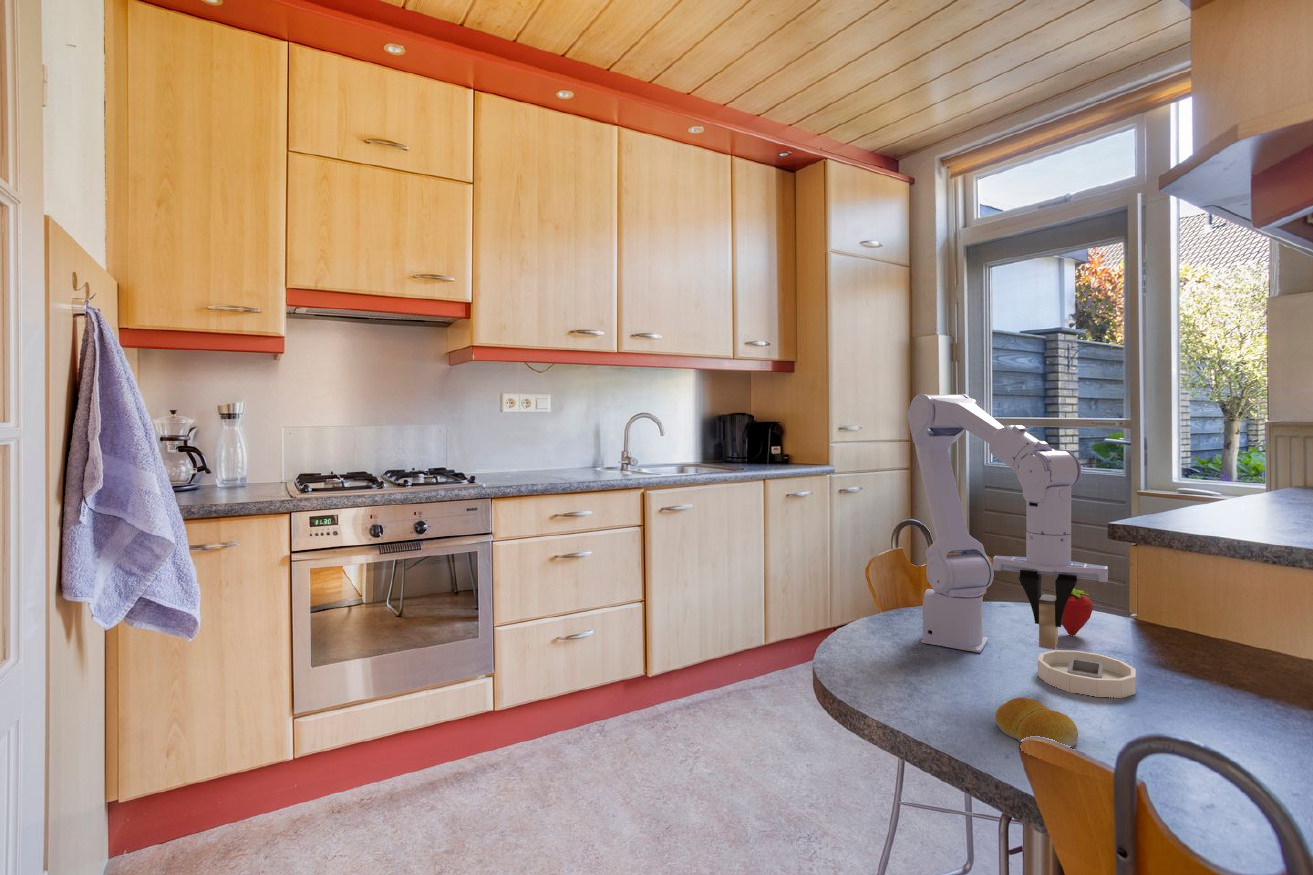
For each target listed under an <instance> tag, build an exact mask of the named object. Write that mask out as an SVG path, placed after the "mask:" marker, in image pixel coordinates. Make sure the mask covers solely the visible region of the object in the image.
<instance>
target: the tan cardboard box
mask: <svg viewBox="0 0 1313 875" xmlns="http://www.w3.org/2000/svg"><path fill="white" fill-rule="evenodd" d="M1055 614H1056V595H1052V594H1042V593H1041V597H1040V599H1039V624H1038V648H1042V649H1048V650H1056V648H1057V645H1058V643H1059V627H1055Z"/></svg>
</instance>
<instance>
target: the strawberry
mask: <svg viewBox="0 0 1313 875" xmlns="http://www.w3.org/2000/svg"><path fill="white" fill-rule="evenodd" d="M1077 583H1078V581H1077ZM1088 596H1089V597H1091V595H1090V594H1088V593H1087V592H1086V591H1085V590H1079V589H1076V588H1075V587H1074V589H1073V591H1072V593H1071V594H1070V596H1069V599H1068V601H1067V603H1066V606H1065V610H1064V613H1063V619H1062V625H1061V627H1063V628H1064V630H1065V631H1066V633H1067V634H1068V635H1069V636H1071V635H1072V636H1071V637H1073V635H1074V636H1076V635H1077V634H1078V632H1079V631H1080V630H1081V629H1082V628H1083V627H1084V626H1085V625H1086V624H1087V622H1088V621H1089V620H1090V618H1091V616H1092V613H1093V609H1094V607H1093V601H1092V600H1091V599H1090V598H1089V597H1088Z"/></svg>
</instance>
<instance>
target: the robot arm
mask: <svg viewBox="0 0 1313 875" xmlns="http://www.w3.org/2000/svg"><path fill="white" fill-rule="evenodd" d="M906 417H907V421H908V425H909V429H910V435H911V439H912V442H913V444H914V448H915V453H916V457H917V461H918V466H919V469H920V470H919V471H920V474H921V478H922V482H923V487H924V491H925V495H926V499H927V504H928V510H929V512H930V516H931V521H932V525H933V529H934V534H935V540H934V541H933V543H932V544H931V545H930V546H929V547H927V549H926V551H925V557H926V569H925V570H926V572H925V573H926V577H927V581H928V583H929V585H930V587H931V588H927V589H925V592H924V595H923V600H922V639H921V643H922V644H929V645H934V646H939V647H943V648H944V647H945V648H951V649H957V650H962V651H968V652H974V653H981V652H982V651H983V649H984V648H985V646H986V645H987V643H988V642H989V637H987V636H984V635H983V623H984V622H983V595H984V594H985V595H986V594H987V588H989V587H990V586H991V585H992V584H993V582H994V578H995V577H994V575H995V573H994V572H995V571H996V572H997V571H999V572H1001V571H1008V572H1016V573H1017V572H1018V573H1019V577H1018V580H1019V582H1020V585H1021V586H1022V589H1023V590H1024V592H1025V595H1026V596H1027V599H1028V601H1029V604H1030V606H1031V610H1032V613H1033V618H1034V619H1033V620H1034V624H1036V625H1039V599H1040V597H1041V596H1042V578H1043V577H1042V575H1045V576H1052V577H1053V576H1055V577H1057V578H1056V579H1055V580H1054V581H1055V583H1054V584H1055V596H1056V614H1055V627H1058V628H1062V619H1063V613H1064V610H1065V606H1066V603H1067V601H1068V599H1069V596H1070V594H1071V593H1072V591H1073V589H1074V588H1075V587H1076V585H1077V583H1078V582H1077V581H1078V580H1081V579H1083V580H1091V581H1098V582H1101V583H1108V581H1109V580H1108V579H1109V566H1107V565H1098V564H1089V563H1084V562H1078V561H1073V560H1072V488H1073V487H1075V486H1076V485H1077V484H1078V483H1079V482H1080V480H1081V477H1082V466H1081V463H1080V460H1079V459H1078V457H1077V456H1076V455H1075V454H1074V453H1073V452H1072V451H1071V450H1070V449H1065V448H1064V449H1061V448H1060V449H1054V448H1052V447H1050V446H1049V443H1048V442H1046V441H1045V440H1039V439H1037V438H1036V437H1034V436H1032V435H1031V434H1030V433H1028V432H1027V429H1028V428H1026V426H1023V424H1022V425H1021V424H1020V425H1017V424H1016V425H1013V424H1011V425H1006V426H1004V425H1002V424H1001V423H1000V422H999V421H997V420H996V419H995V418H993V416H991V415H989V413H987V412H986V411H985V410H983V409H982V408H980V406H978V403H977V400H976V399H974V398H972V397H970V396H969V395H968V394H965V393H958V394H925V393H919V394H917V395H916V396H914V397H913V399H912V400H911V403H910V405H909V408H908V410H907V412H906ZM965 431H967V432H969V433H971V434H972V435H974V436H975V437H977V438H979V439H981V440H982V441H984V442H986V443H987V444H988V449H989V452H990V454H991V455H992V456H993V457H995V458H996V459H997V460H999V461H1000V462H1002V463H1003V464H1005V465H1006V466H1007V467H1008V468H1010V469H1012V470H1013V471H1014V473H1015V472H1016V473H1015V474H1016V477H1017V480H1018V482H1019V484H1020V485H1021V488H1022V497H1023V498H1024V501H1026V502H1025V504H1026V505H1025V506H1026V508H1025V510H1026V513H1025V514H1026V518H1025V519H1026V520H1025V521H1026V522H1025V523H1026V525H1025V526H1026V532H1025V533H1026V535H1025V538H1026V540H1025V541H1026V543H1025V546H1026V547H1025V548H1026V549H1025V550H1026V552H1025V553H1026V556H1007V555H1006V556H1004V555H994V556H993V557H992V562H991V560H990V558H989V557H988V555H987V554H986V551H985V548H984V545H983V543H982V542H980V541H979V540H977V539H976V538H974V537H972V535H970V533H969V529H968V527H967V522H966V517H965V513H964V511H963V509H964V508H963V506H962V505H963V504H962V501H961V498H960V494H959V490H958V486H957V482H956V478H955V474H954V469H953V465H952V461H951V457H950V454H949V448H950V447H951V445H952V444H954V443H956V442H957V441H958V440H959V438H960V437H961V436H962V435H963V434H964V432H965ZM950 554H951V555H950Z"/></svg>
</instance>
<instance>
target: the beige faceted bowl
mask: <svg viewBox="0 0 1313 875" xmlns="http://www.w3.org/2000/svg"><path fill="white" fill-rule="evenodd" d="M1038 676H1039V677H1038ZM1037 677H1038V678H1040V679H1041V680H1042V681H1043V680H1044V681H1043V682H1044V683H1046V684H1047V683H1048V684H1049V685H1048V684H1047V685H1048V686H1051V685H1052V687H1054V686H1055V687H1054V688H1056V687H1057V689H1059V690H1062V691H1065V692H1068V693H1071V694H1075V693H1080V694H1079V695H1081V694H1086V695H1090V696H1089V697H1091V696H1096V697H1109V698H1108V699H1124V698H1127V697H1130V696H1133V695H1136V693H1137V670H1136V668H1135V667H1133V666H1131V665H1130V664H1128V663H1126V662H1124V660H1120V659H1116V658H1113V657H1110V656H1106V655H1103V654H1100V653H1096V652H1095V653H1094V652H1093V653H1092V652H1087V651H1082V650H1081V651H1080V650H1072V649H1071V650H1070V649H1069V650H1066V649H1065V650H1063V649H1055V650H1053V649H1051V650H1049V651H1045V652H1040V653H1039V655H1038V658H1037ZM1086 695H1085V696H1086ZM1096 697H1095V698H1096ZM1110 697H1111V698H1110ZM1113 697H1114V698H1113Z"/></svg>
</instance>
